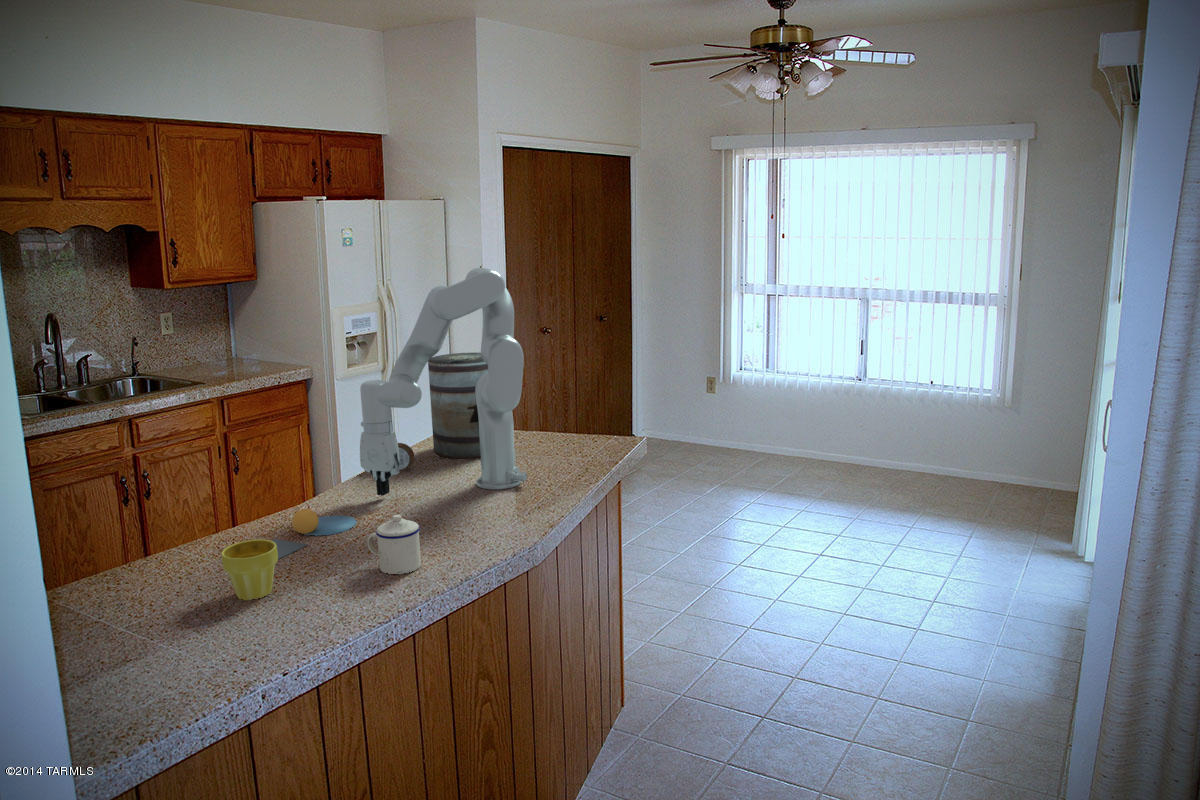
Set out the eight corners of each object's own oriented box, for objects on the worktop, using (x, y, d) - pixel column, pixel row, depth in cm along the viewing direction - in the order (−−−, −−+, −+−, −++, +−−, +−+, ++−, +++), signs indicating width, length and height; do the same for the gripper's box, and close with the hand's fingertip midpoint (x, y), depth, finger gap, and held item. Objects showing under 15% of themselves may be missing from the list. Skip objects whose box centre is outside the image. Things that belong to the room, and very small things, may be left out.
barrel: (508, 455, 276) (504, 361, 270) (436, 462, 271) (429, 366, 264) (499, 438, 297) (495, 350, 291) (432, 444, 292) (426, 355, 286)
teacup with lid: (429, 561, 193) (426, 510, 190) (409, 577, 184) (405, 524, 182) (380, 556, 196) (376, 506, 194) (358, 572, 188) (354, 520, 185)
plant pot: (248, 609, 171) (243, 561, 169) (215, 598, 177) (209, 552, 174) (292, 589, 180) (287, 544, 178) (259, 579, 185) (254, 535, 183)
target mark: (368, 520, 220) (368, 519, 220) (329, 539, 208) (329, 538, 208) (324, 513, 226) (324, 512, 226) (284, 531, 213) (284, 530, 213)
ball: (300, 526, 206) (313, 540, 210) (315, 505, 210) (327, 520, 214) (282, 522, 209) (295, 536, 213) (297, 502, 212) (309, 516, 216)
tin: (415, 469, 264) (413, 442, 262) (412, 472, 261) (410, 444, 259) (367, 469, 266) (364, 442, 264) (363, 472, 262) (361, 444, 261)
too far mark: (308, 545, 204) (307, 544, 204) (275, 560, 195) (275, 560, 195) (275, 539, 208) (275, 538, 208) (242, 554, 199) (242, 553, 199)
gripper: (346, 428, 232) (352, 495, 236) (392, 432, 226) (397, 501, 229) (364, 422, 239) (370, 487, 242) (410, 426, 232) (414, 492, 236)
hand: (383, 493), depth 236 cm, fingers closed
